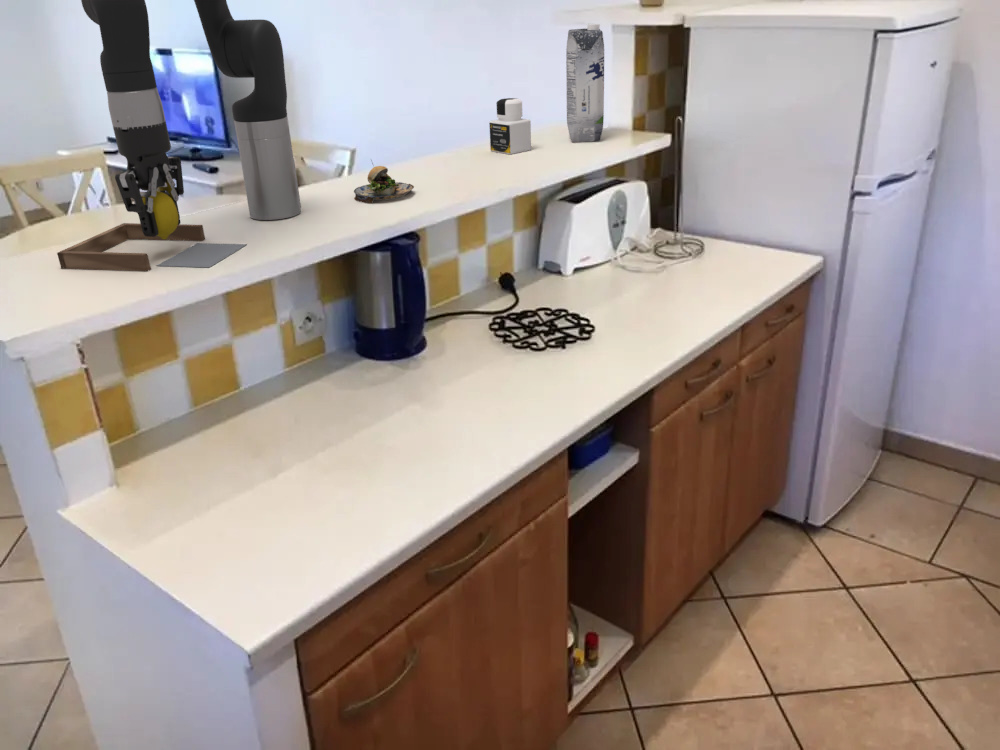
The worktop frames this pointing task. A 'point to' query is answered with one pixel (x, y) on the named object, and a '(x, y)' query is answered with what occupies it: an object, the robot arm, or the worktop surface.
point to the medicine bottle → (510, 128)
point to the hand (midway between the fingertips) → (162, 230)
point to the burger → (381, 187)
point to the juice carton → (585, 83)
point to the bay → (94, 257)
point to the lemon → (164, 214)
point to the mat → (202, 255)
